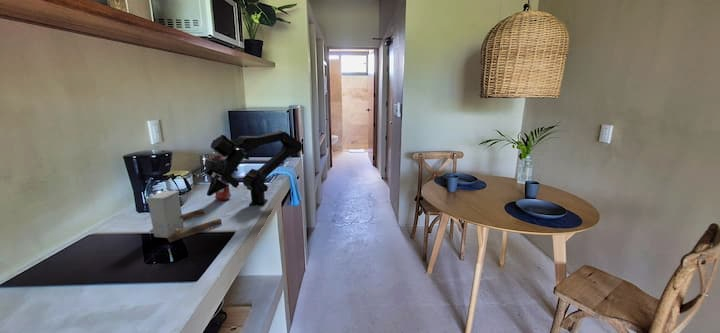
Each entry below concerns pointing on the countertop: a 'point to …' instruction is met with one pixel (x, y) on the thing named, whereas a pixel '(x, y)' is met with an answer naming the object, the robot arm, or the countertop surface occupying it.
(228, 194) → the red white cylinder
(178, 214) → the skincare box
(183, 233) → the guide track
